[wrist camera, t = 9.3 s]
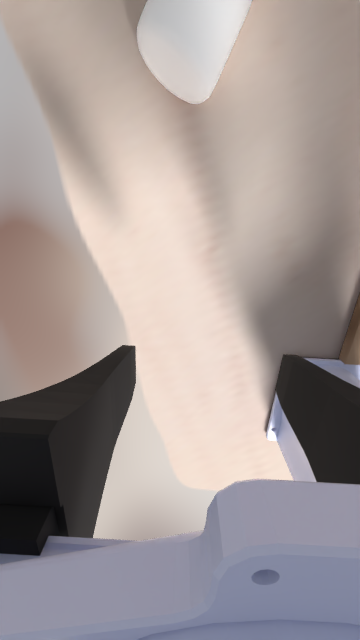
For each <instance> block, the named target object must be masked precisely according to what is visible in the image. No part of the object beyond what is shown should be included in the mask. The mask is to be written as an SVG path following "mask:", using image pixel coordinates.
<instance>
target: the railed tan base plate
mask: <svg viewBox="0 0 360 640" xmlns="http://www.w3.org/2000/svg"><path fill="white" fill-rule="evenodd" d="M339 359H340V360H341V361H342V362H343V363H344V364H349V365H360V294H359V297H358V300H357V303H356V306H355V309H354V312H353V315H352V319H351V322H350V325H349V328H348V331H347V334H346V337H345V340H344V343H343V346H342V349H341V353H340V356H339Z"/></svg>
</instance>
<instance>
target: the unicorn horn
mask: <svg viewBox="0 0 360 640" xmlns="http://www.w3.org/2000/svg"><path fill="white" fill-rule="evenodd" d="M251 3H252V0H148V1H147V3H146V4H145V7H144V9H143V12H142V14H141V17H140V20H139V23H138V26H137V41H138V47H139V52H140V54H141V56H142V58H143V60H144V62H145V64H146V65H147V67H148V68H149V69H150V71H151V72H152V73H153V75H154V76H155V78H156V79H157V80H158V81H159V82H160V83H161V84H162V85H163V86H164V87H165V88H166V89H167V90H169V91H170V92H171V93H173V94H174V95H175V96H177V97H178V98H180V99H182V100H184V101H186V102H188V103H190V104H200V103H202V102H204V101H205V100H206V99H208V98H209V97H210V96H211V94H212V92H213V90H214V88H215V86H216V84H217V82H218V80H219V77H220V75H221V73H222V71H223V68H224V66H225V64H226V61H227V59H228V57H229V55H230V52H231V50H232V48H233V45H234V43H235V41H236V39H237V36H238V34H239V32H240V29H241V27H242V25H243V23H244V20H245V18H246V16H247V13H248V11H249V9H250V6H251Z"/></svg>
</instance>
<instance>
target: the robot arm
mask: <svg viewBox="0 0 360 640" xmlns="http://www.w3.org/2000/svg"><path fill="white" fill-rule="evenodd" d="M135 383H136V360H135V346H126V345H122V346H121V347H119V348H118V349H117V350H115V351H114V352H112V353H111V354H110V355H108V356H106V357H105V358H103V359H102V360H100V361H99V362H97V363H96V364H94V365H92V366H91V367H89V368H87V369H86V370H84V371H82V372H80V373H79V374H77V375H75V376H73V377H71V378H68V379H66V380H64V381H62V382H60V383H57V384H55V385H52V386H50V387H47V388H44V389H42V390H39V391H36V392H33V393H30V394H27V395H23V396H20V397H17V398H13V399H9V400H5V401H1V402H0V640H360V365H349V364H344V363H343V362H342V361H341V360H334V359H317V358H302V357H299V356H297V355H284V354H283V359H282V363H281V367H280V372H279V376H278V380H277V385H276V389H275V390H276V394H275V398H274V403H273V407H272V411H271V415H270V420H269V424H268V428H267V433H266V436H267V439H268V440H272V441H277V442H278V444H279V447H280V449H281V451H282V454H283V456H284V458H285V461H286V463H287V465H288V468H289V470H290V472H291V475H292V477H293V479H294V481H288V480H270V479H252V480H245V481H237V482H234V483H233V484H231V485H229V486H227V487H226V488H224V489H222V490H220V491H219V492H218V493H217V494H216V495H215V497H214V499H213V500H212V502H211V504H210V506H209V507H208V510H207V518H206V524H205V528H204V530H201V531H195V532H189V533H184V534H178V535H171V536H165V537H159V538H154V539H147V540H142V541H132V540H114V539H98V538H93V534H94V529H95V524H96V520H97V516H98V511H99V507H100V503H101V499H102V494H103V490H104V486H105V482H106V478H107V474H108V470H109V466H110V462H111V458H112V454H113V450H114V447H115V444H116V441H117V438H118V435H119V433H120V430H121V427H122V425H123V422H124V419H125V416H126V414H127V411H128V408H129V406H130V403H131V400H132V396H133V391H134V388H135ZM273 427H275V428H273Z"/></svg>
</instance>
